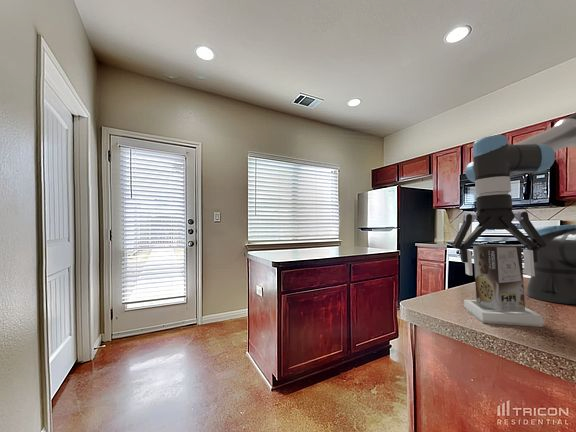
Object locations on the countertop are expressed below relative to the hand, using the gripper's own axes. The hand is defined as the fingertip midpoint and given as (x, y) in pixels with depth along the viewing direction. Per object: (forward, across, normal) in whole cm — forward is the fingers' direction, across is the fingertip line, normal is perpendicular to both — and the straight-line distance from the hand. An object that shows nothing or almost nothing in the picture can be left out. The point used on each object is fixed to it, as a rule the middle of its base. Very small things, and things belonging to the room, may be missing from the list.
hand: (498, 275), depth 70 cm
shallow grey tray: (+11, 0, 0) cm, 11 cm away
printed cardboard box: (+8, 0, 0) cm, 9 cm away
